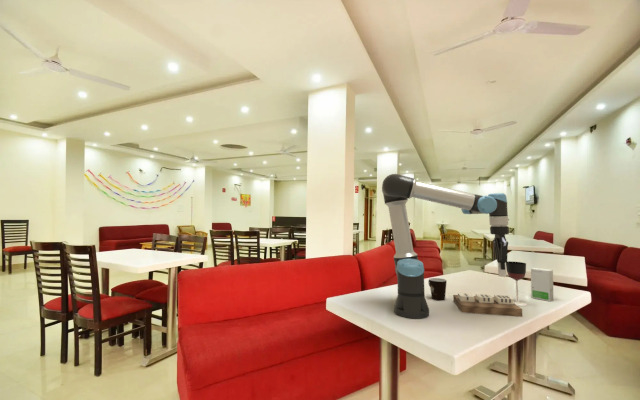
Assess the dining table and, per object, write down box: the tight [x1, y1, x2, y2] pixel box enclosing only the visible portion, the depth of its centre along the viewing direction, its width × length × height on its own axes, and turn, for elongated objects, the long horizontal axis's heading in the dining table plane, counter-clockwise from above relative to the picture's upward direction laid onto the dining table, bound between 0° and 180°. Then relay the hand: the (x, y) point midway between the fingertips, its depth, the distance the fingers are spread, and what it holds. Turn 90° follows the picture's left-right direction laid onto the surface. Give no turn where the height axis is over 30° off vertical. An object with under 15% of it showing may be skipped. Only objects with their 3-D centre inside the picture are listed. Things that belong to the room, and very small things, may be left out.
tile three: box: [493, 294, 514, 305], centre depth 133 cm, size 6×6×3 cm
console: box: [453, 294, 523, 318], centre depth 135 cm, size 24×18×3 cm
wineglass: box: [505, 260, 528, 307], centre depth 142 cm, size 8×9×20 cm
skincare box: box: [530, 267, 554, 302], centre depth 150 cm, size 8×7×16 cm
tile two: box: [475, 293, 494, 303], centre depth 135 cm, size 6×6×3 cm
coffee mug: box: [428, 277, 447, 302], centre depth 152 cm, size 12×9×10 cm
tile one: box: [457, 292, 475, 302], centre depth 137 cm, size 6×6×3 cm
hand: (502, 276), depth 133 cm, fingers closed
